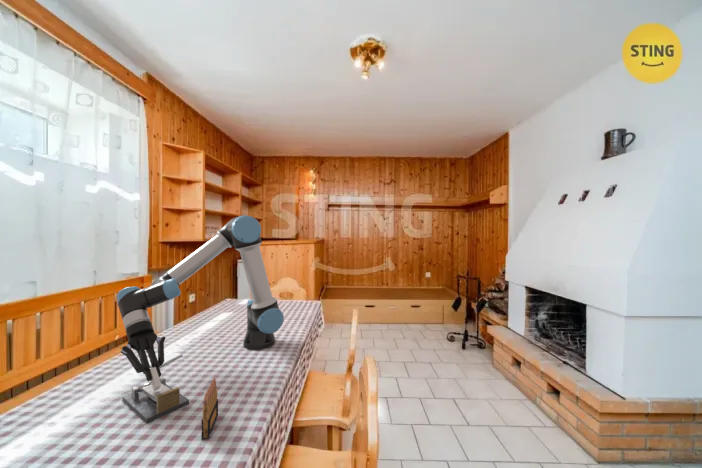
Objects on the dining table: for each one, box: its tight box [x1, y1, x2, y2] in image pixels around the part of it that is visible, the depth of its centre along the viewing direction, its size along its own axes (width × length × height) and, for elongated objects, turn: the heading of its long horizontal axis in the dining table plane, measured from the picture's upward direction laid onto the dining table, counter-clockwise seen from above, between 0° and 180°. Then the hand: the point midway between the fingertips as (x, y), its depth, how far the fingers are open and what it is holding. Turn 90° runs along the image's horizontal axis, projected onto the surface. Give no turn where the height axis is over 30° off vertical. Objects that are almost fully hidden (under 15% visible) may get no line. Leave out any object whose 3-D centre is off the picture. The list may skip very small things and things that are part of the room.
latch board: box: [121, 376, 190, 425], centre depth 95 cm, size 20×12×6 cm, turn 55°
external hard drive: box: [148, 352, 183, 368], centre depth 127 cm, size 2×8×12 cm
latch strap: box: [137, 381, 171, 402], centre depth 95 cm, size 2×6×14 cm
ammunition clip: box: [201, 377, 219, 440], centre depth 84 cm, size 11×2×12 cm, turn 12°
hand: (157, 388), depth 93 cm, fingers closed
